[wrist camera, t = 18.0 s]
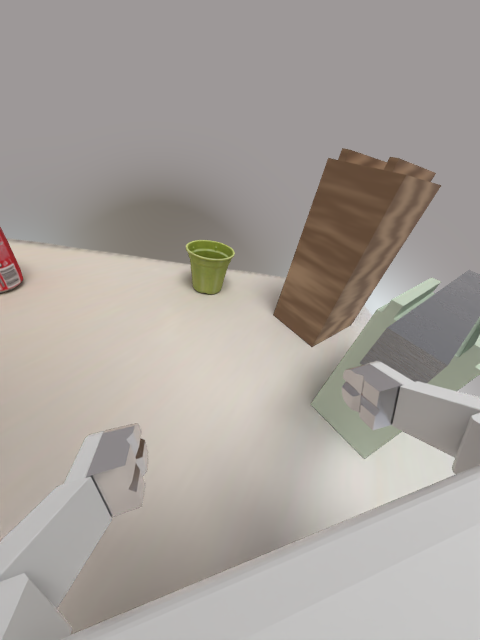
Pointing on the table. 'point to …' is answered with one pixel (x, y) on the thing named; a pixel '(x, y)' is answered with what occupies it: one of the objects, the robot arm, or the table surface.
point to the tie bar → (430, 331)
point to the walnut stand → (350, 240)
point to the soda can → (8, 266)
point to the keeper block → (467, 363)
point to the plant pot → (208, 264)
